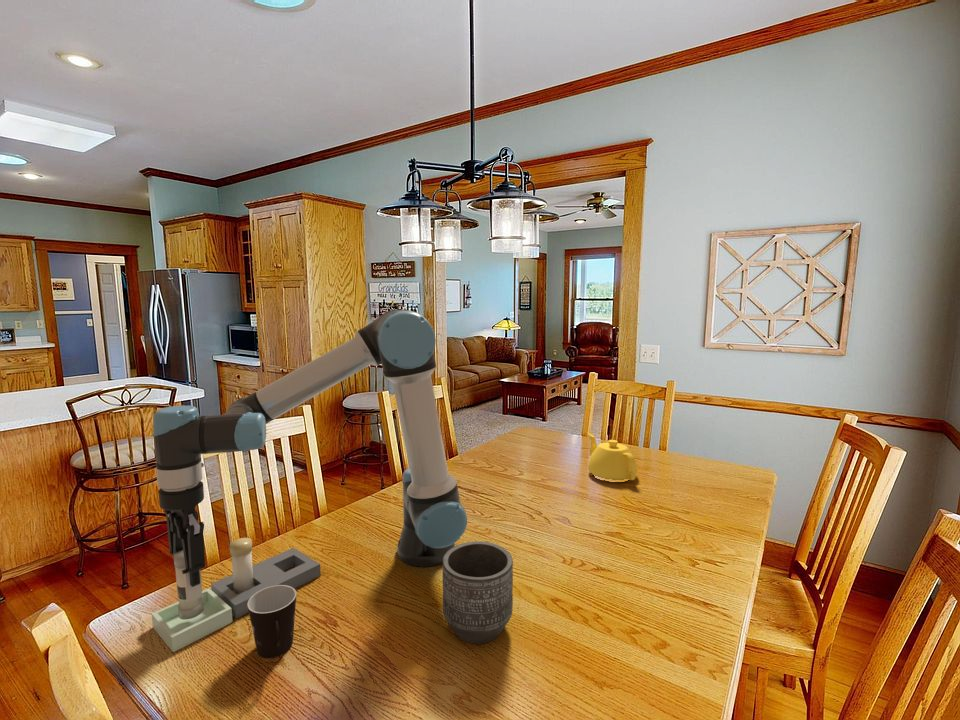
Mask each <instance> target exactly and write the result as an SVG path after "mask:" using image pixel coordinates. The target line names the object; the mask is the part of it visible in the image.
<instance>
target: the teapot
mask: <svg viewBox="0 0 960 720" xmlns="http://www.w3.org/2000/svg"><path fill="white" fill-rule="evenodd" d="M587 435H588V437H589V441H590V444H589V456H590V457H589V460H588V464H587V469H588V472H589V473H590V474H591V473H592V474H593V475H595V476H598V477H601V478H605V479H612V480H624V479H629V480H630V481H634V480H635V479H636V476H637V470H638V468H637V464H636V461H635V457H634V455H633V454H632V452H631V451H630V449H629V448H628V446H627V445H625V444H622V443H619V441H618V440H616V439H609V440H607V442H601V443H599V444H598V445H597V439H596V438H595V436H594V434H592V433H591V432H587ZM592 474H591V475H592Z"/></svg>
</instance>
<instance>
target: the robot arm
mask: <svg viewBox="0 0 960 720" xmlns="http://www.w3.org/2000/svg"><path fill="white" fill-rule="evenodd" d="M436 341H437V340H436V333H435V331H434V328H433V326H432V325H431V323H430V322H429V321H428V319H427V318H425V317H424V316H423V315H422V314H421V313H419V312H416V311H413V310H408V309H400V308H399V309H398V308H397V309H390V310H389V311H386V312H385V313H383V314H381V315H380V316H378V317H377V318H376V319H374V320H373V321H372V322H370V323H369V324H367V325H365V326H364V327H361V328H360V329H358V330H356V331H355V335H354V337H353V338H351V339H349V340H348V341H345V342H344V343H342V344H341V345H338V346H336V347H335V348H333V349H331V350H329V351H327V352H325V353H324V354H322V355H320V356H319V357H316V358H315V359H312V360H311V361H309V362H308V363H306V364H304V365H302V366H301V367H298V368H297V369H295V370H293V371H291V372H289V373H288V374H286V375H284V376H282V377H280V378H278V379H277V380H275V381H273V382H270V383H269V384H266V386H263V387H262V388H260V389H258V390H257V391H256V392H253V393H251V394H249V395H248V396H246V397H241V398H239V399H237V400H235V401H234V402H232V403H231V404H230V406H228V407H227V410H226V411H225V412H224V414H217V415H200V413H199V412H198V408H197V407H196V406H194V405H185V404H183V405H173V406H167V407H163V408H160V409H158V410H157V411H156V412H155V413H153V417H152V429H153V432H152V437H153V442H154V443H153V445H154V453H155V455H154V456H155V463H156V467H155V469H156V484H157V487H158V488H159V490H158V503H159V507H160V508H161V509H162V510H164V514H165V519H166V527H167V538H168V546H169V547H168V548H169V554H170V556H172V559H173V560H174V554H175V553H176V552H178V551H180V550H182V549H183V553H184V559H185V566H186V569H185V570H183V571H182V573H183V574H184V577H185V590H186V601H187V602H191V601H193V600H195V599H197V598H199V597H202V596H203V595H202V591H203V586H202V572H201V570H203V569H205V568H206V558H205V557H206V554H205V542H204V541H205V540H204V539H205V538H204V532H205V523H204V521H200V522H199V512H198V511H197V510H196V507H197V506H198V505H199V504H201V503H202V502H203V500H204V499H205V491H204V490H205V489H204V482H203V481H202V480H203V471H202V470H203V469H202V468H204V466H205V463H204V462H202V455H207V454H219V453H220V454H221V453H236V452H249V451H255V450H260V449H262V448H264V447H265V445H266V439H267V424H269V423H270V422H272V421H274V420H275V419H277V418H279V417H280V416H282V415H284V414H285V413H288V412H290V411H291V410H293V409H295V408H296V407H299V406H300V405H302V404H304V403H306V402H307V401H309V400H311V399H312V398H314V397H316V396H318V395H320V394H321V393H323V392H326V391H327V390H329V389H330V388H332V387H334V386H335V385H337V384H339V383H340V382H343V381H345V380H347V379H348V378H350V377H351V376H353V375H355V374H357V373H359V372H360V371H362V370H364V369H366V368H367V367H369V366H374V367H378V366H380V365H381V367H382V372H383V377H384V378H385V379H386V380H388V381H390V382H391V383H392V387H393V392H394V398H395V401H396V407H397V411H398V417H399V422H400V428H401V433H402V438H403V443H404V449H405V453H406V458H407V463H408V468H407V469H404V471H403V473H402V481H401V483H402V497H403V498H402V500H403V501H402V503H403V505H402V508H403V509H402V510H403V525H402V530H401V533H400V537H399V540H398V542H397V556H398V558H399V560H400V561H401V562H403V563H405V564H406V565H409V566H412V567H423V568H424V567H427V568H428V567H433V566H434V567H435V566H437V565H441V564H443V557H444V555H445V553H446V552H447V551H448V550H450V549H451V548H453V547H455V546H456V542H457V541H459V540H460V538H461V537H462V536H463V535H464V533H465V532H466V530H467V526H468V517H467V516H468V515H467V512H466V510H465V507H464V506H463V505H462V504H461V498H460V493H459V486H458V483H457V482H458V481H457V478H456V477H455V476H453V475H451V474H450V473H449V469H448V464H447V457H446V453H445V451H446V450H445V446H444V440H443V436H442V430H441V424H440V419H439V413H438V407H437V401H436V397H435V391H434V385H433V381H432V375H433V374H434V372H435V370H436V369H437V362H436V356H435V348H436V345H437V344H436ZM174 568H175V569H174V570H175V571H176V567H175V566H174ZM175 579H176V580H175V581H176V583H177V575H176V574H175ZM176 592H177V593H178V591H176Z"/></svg>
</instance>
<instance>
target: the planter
mask: <svg viewBox="0 0 960 720" xmlns="http://www.w3.org/2000/svg"><path fill="white" fill-rule="evenodd" d="M513 565H514V559H513V556H512V554H511V552H510V551H508V550H507V549H506V548H504V547H502V546H501V545H499V544H496V543H493V542H489V541H483V540H482V541H480V540H477V541H469V542H463V543H460V544H458V545H455V547H453V548H451V549H450V550H448V551H447V552H446V553H445V555H444V557H443V563H442V613H443V616H444V619H445V620H446V623H447V624H448V626H449V627H450V629H452V631H453V632H454V634H455V635H456V636H457V637H458V638H459V639H460V640H462V641H464V642H466V643H468V644H469V643H470V644H475V645H479V644H481V645H482V644H486V643H490V642H492V641H493V640H495V639H496V638H498V636H499V635H500V634H501V633H502V632H503V630H504V629H505V627H506V626H507V624H508V623H509V621H510V619H511V618H512V615H513V604H514V603H513V602H514V595H513V588H514V587H513V586H514V571H513V570H514V569H513V568H514V566H513Z"/></svg>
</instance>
